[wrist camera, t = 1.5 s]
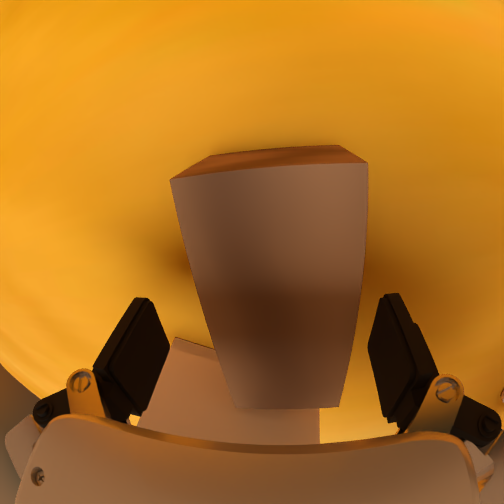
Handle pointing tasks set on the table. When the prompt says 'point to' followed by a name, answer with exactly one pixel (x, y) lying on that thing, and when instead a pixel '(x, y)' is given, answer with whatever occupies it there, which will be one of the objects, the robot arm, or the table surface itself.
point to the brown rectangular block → (278, 267)
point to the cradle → (217, 405)
